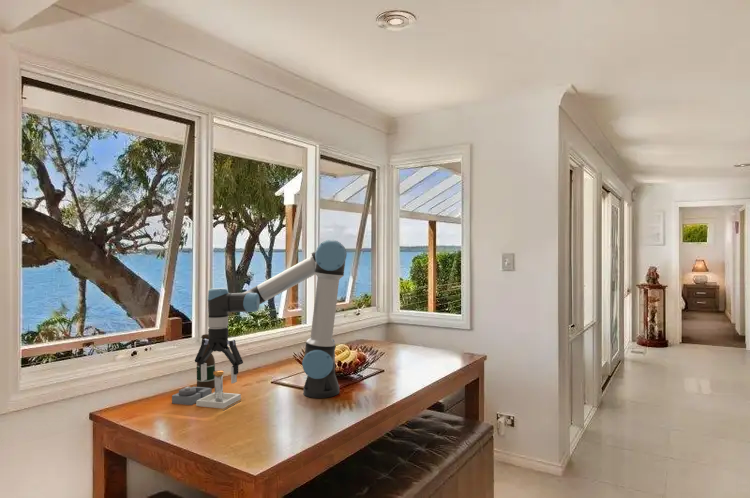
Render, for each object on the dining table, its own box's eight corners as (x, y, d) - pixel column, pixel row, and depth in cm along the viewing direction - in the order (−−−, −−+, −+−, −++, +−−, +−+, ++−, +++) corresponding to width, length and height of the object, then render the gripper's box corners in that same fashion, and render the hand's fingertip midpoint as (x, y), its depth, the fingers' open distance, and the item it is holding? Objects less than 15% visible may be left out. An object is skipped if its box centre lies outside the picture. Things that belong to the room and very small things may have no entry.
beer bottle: (209, 392, 208) (209, 336, 208) (193, 391, 210) (192, 336, 210) (218, 387, 216) (218, 333, 216) (202, 386, 217) (202, 333, 217)
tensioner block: (193, 396, 203) (193, 380, 203) (211, 397, 201) (211, 381, 201) (172, 405, 191) (171, 388, 191) (191, 407, 188) (191, 390, 188)
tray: (240, 401, 195) (240, 394, 195) (223, 411, 184) (223, 403, 184) (214, 399, 199) (214, 391, 199) (196, 408, 187) (196, 400, 187)
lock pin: (226, 401, 193) (225, 370, 193) (220, 404, 189) (219, 372, 189) (217, 400, 194) (217, 369, 194) (211, 403, 190) (211, 372, 190)
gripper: (251, 327, 191) (252, 380, 191) (197, 324, 198) (197, 376, 198) (241, 330, 184) (241, 386, 184) (185, 327, 191) (185, 381, 191)
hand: (218, 381), depth 191 cm, fingers open, 13 cm apart
